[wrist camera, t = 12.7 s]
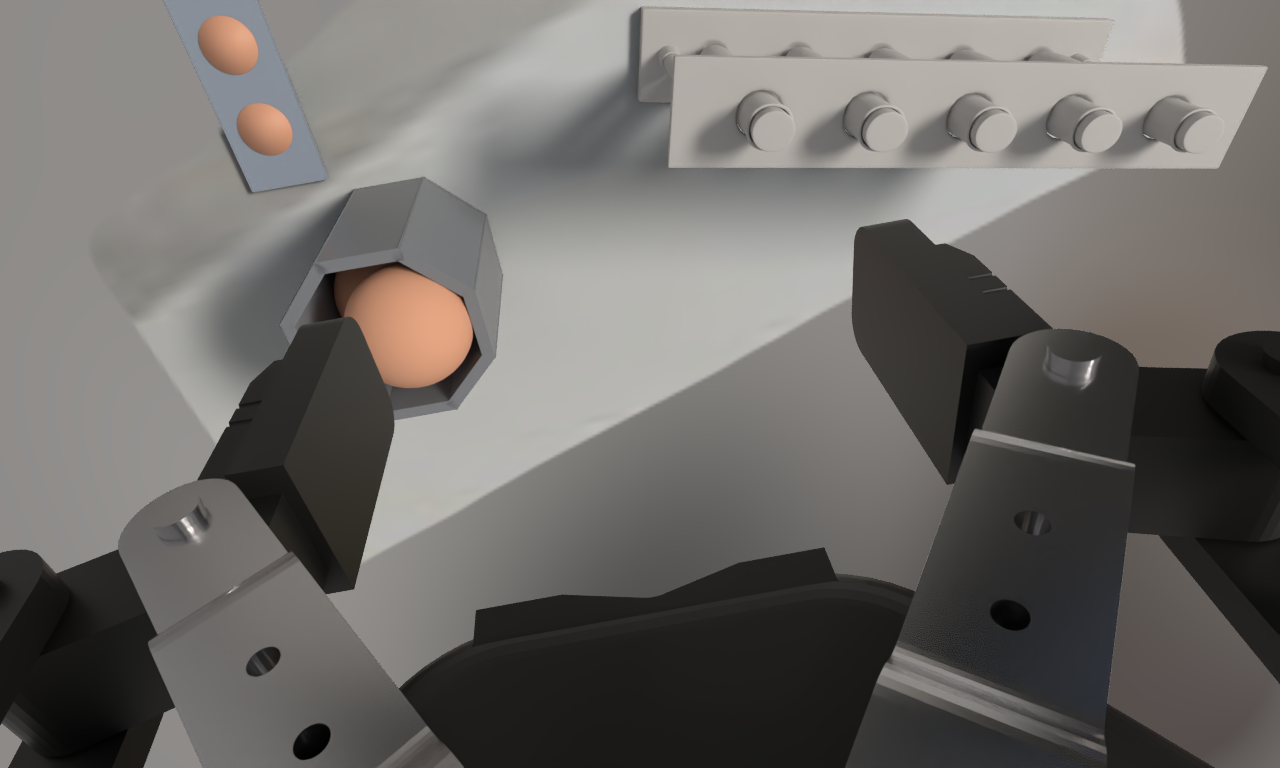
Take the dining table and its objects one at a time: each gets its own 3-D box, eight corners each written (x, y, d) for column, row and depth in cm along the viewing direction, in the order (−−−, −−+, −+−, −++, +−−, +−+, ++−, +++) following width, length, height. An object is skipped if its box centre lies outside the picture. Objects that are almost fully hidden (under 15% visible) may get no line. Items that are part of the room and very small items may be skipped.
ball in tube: (348, 215, 42) (292, 278, 38) (445, 213, 40) (398, 278, 36) (388, 301, 46) (341, 367, 42) (477, 302, 44) (438, 370, 40)
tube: (305, 197, 40) (253, 272, 33) (473, 167, 40) (458, 236, 33) (365, 339, 46) (332, 431, 38) (513, 313, 46) (509, 400, 39)
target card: (158, -19, 34) (153, -18, 34) (245, -34, 34) (241, -33, 34) (254, 189, 40) (252, 193, 39) (328, 177, 40) (326, 179, 40)
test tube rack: (637, 98, 39) (673, 189, 29) (640, 5, 37) (681, 67, 26) (1075, 103, 42) (1257, 188, 32) (1106, 17, 40) (1316, 77, 29)
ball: (295, 298, 34) (376, 277, 31) (390, 259, 39) (470, 236, 36) (351, 413, 36) (433, 405, 33) (435, 363, 41) (515, 351, 38)
